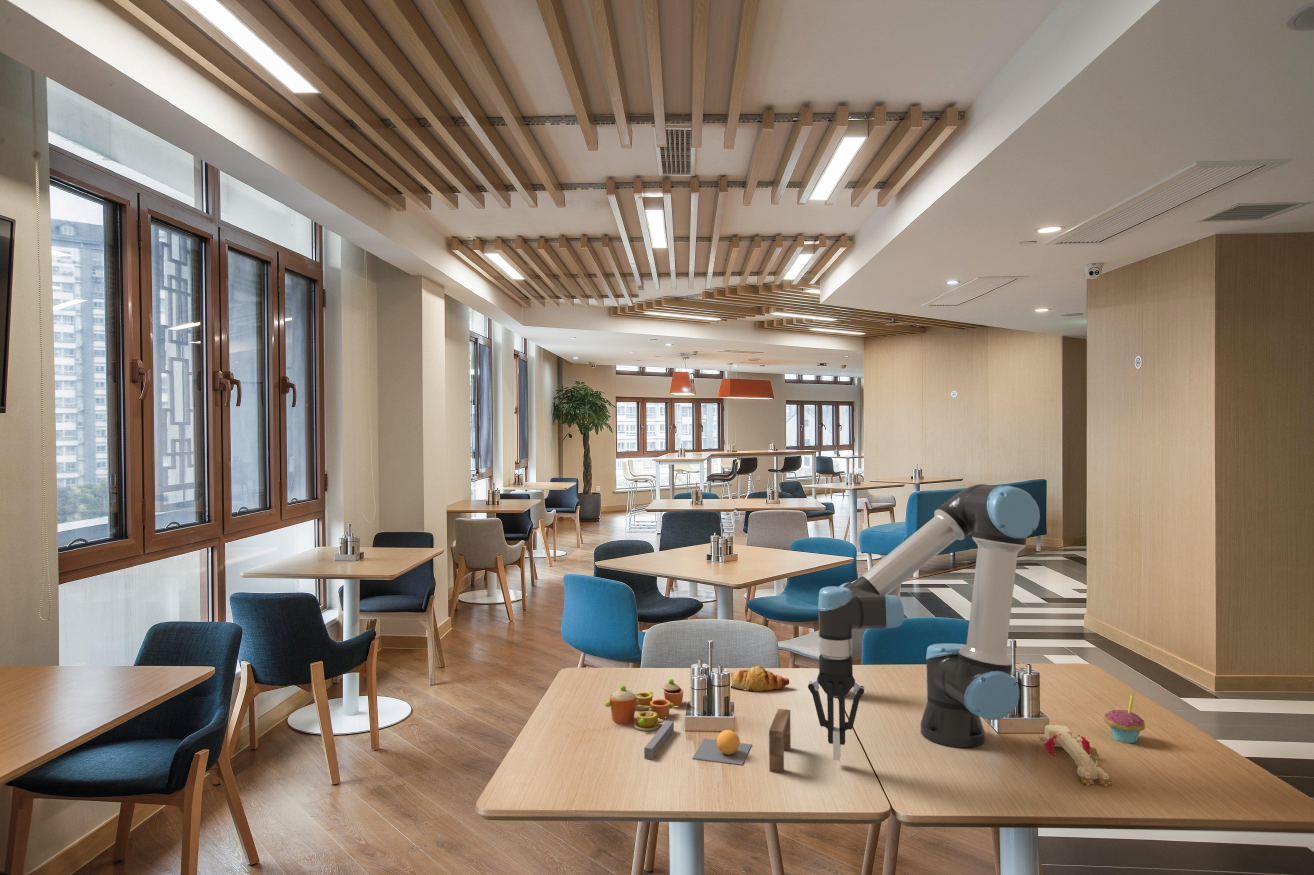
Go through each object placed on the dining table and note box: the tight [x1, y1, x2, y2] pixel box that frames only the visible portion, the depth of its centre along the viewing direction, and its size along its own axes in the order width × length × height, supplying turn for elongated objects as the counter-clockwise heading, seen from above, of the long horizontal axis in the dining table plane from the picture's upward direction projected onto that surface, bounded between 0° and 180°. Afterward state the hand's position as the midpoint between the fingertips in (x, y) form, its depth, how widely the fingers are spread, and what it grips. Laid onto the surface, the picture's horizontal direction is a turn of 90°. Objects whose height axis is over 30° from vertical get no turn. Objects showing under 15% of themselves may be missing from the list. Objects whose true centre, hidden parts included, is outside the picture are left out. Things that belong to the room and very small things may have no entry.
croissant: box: [730, 665, 790, 692], centre depth 219 cm, size 21×10×8 cm, turn 80°
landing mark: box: [691, 738, 752, 766], centre depth 171 cm, size 12×12×1 cm
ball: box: [716, 729, 741, 755], centre depth 170 cm, size 6×6×6 cm
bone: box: [1038, 724, 1112, 787], centre depth 165 cm, size 10×9×25 cm
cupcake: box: [1103, 692, 1146, 744], centre depth 177 cm, size 9×8×12 cm
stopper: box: [643, 720, 675, 760], centre depth 176 cm, size 2×18×2 cm, turn 162°
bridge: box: [768, 708, 792, 774], centre depth 167 cm, size 3×14×9 cm, turn 162°
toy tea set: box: [604, 678, 685, 732], centre depth 197 cm, size 26×16×10 cm, turn 154°
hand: (836, 757), depth 163 cm, fingers closed
